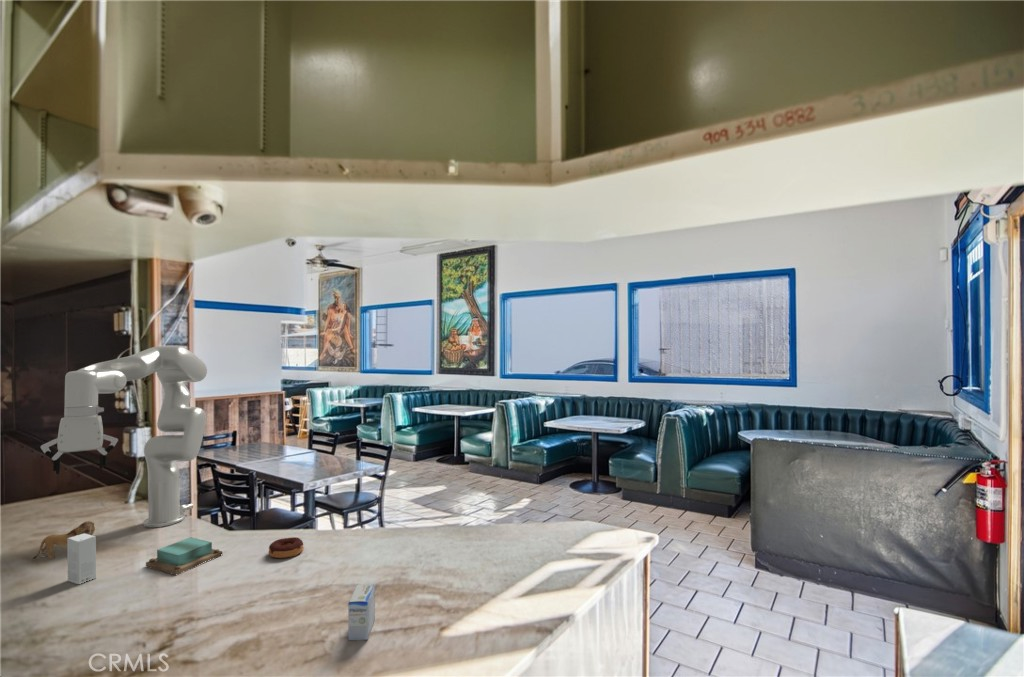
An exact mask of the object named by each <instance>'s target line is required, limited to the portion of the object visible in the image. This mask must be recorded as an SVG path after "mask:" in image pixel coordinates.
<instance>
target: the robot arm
mask: <svg viewBox="0 0 1024 677" xmlns="http://www.w3.org/2000/svg"><path fill="white" fill-rule="evenodd" d="M155 373H156V375H157V378H158V380H159V381H160V383H161V386H162V388H163V391H164V396H163V400H162V403H161V404H162V405H161V408H160V411H159V414H158V418H157V423H156V426H157V429H158V430H159V431H160V432H163V433H183V434H179V435H177V434H174V435H173V434H171V435H170V434H169V435H168V434H167V435H166V434H165V435H163V434H162V435H156V436H152V437H151V438H149V439H148V440H147V441H146V443H145V444H144V447H143V453H144V458H145V462H146V467H147V469H146V470H147V494H148V495H147V496H148V497H147V501H148V502H147V504H148V505H147V507H148V508H147V510H148V511H147V513H148V515H147V516H148V517H147V518H145V520H143V521H142V522H143V523H142V525H143V527H146V528H161V527H167V526H171V525H174V524H178V523H180V522H181V521H183V520H185V518H186V514H185V513H184V512H185V511H189V510H192V509H193V508H194V504H193V503H190V504H180V503H181V502H180V499H181V498H180V497H181V494H180V493H181V492H180V469H179V467H178V466H177V465H178V464H176V463H177V462H181V463H182V462H190V461H193V460H194V459H196V458H197V456H198V454H199V452H200V450H201V447H202V442H203V437H204V434H205V430H206V426H207V414H206V411H205V410H204V409H203V408H201V407H197V406H190V403H191V398H192V397H191V396H192V395H191V392H190V390H189V389H188V387H187V386H186V384H185V383H198V382H202V381H203V380H204V379H205V378H206V376H207V373H208V369H207V365H206V363H205V362H204V361H203V360H202V359H201V358H199V356H197V355H195V354H194V353H193V352H192V351H190V350H189V349H187V348H185V347H183V346H179V345H169V346H167V345H165V346H162V345H158V346H153V347H149V348H147V349H144V350H141V351H139V352H137V353H134V354H131V355H128V356H124V357H119V358H114V359H111V360H106V361H101V362H97V363H93V364H90V365H87V366H85V367H82V368H79V369H77V370H73V371H68V372H67V373H66V374H65V377H64V412H63V414H64V415H63V416H64V417H61V419H60V421H59V426H58V434H57V437H56V438H54V439H52V440H49V441H48V442H46V443H44V444H42V445H40V449H41V451H42V452H43V453H44V455H45V456H47V457H48V458H50V459H51V460H52V461H53V462H52V463H53V466H52V470H53V472H55V475H59V474H60V473H61V464H62V463H61V462H62V461H61V456H62V455H63V454H67V453H75V452H84V451H85V452H88V451H98V452H99V453H100V455H99V469H100V470H102V469H104V466H106V465H107V454H109V453H110V452H111V451H112V450H114V447H115V446H116V445H117V443H118V442H119V439H118V438H117V437H114V436H111V435H108V434H104V426H103V425H104V424H103V420H102V419H103V418H102V415H99V414H100V413H104V412H105V407H102V406H99V394H115V393H118V392H120V391H121V390H123V389H124V388H125V387H126V385H127V382H132V381H138V380H141V379H144V378H146V377H148V376H151V375H152V374H155ZM104 440H105V441H109V442H110V444H109V445H108V446H107V447H106V448H105V447H103V444H104ZM56 444H57V451H56V453H55V452H53V451H51V450H50V447H52V446H54V445H56Z"/></svg>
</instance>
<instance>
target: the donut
mask: <svg viewBox="0 0 1024 677" xmlns="http://www.w3.org/2000/svg"><path fill="white" fill-rule="evenodd" d="M304 548H305V547H304V542H303V540H302V539H301V538H299V537H294V536H293V537H286V538H279V539H276V540H274V541H273V542H271V543H270V544H269V546H268V555H269V556H270V557H272V558H276V559H286V558H292V557H296V556H298V555H299V554H301V553H302V552H303V550H304Z"/></svg>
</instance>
